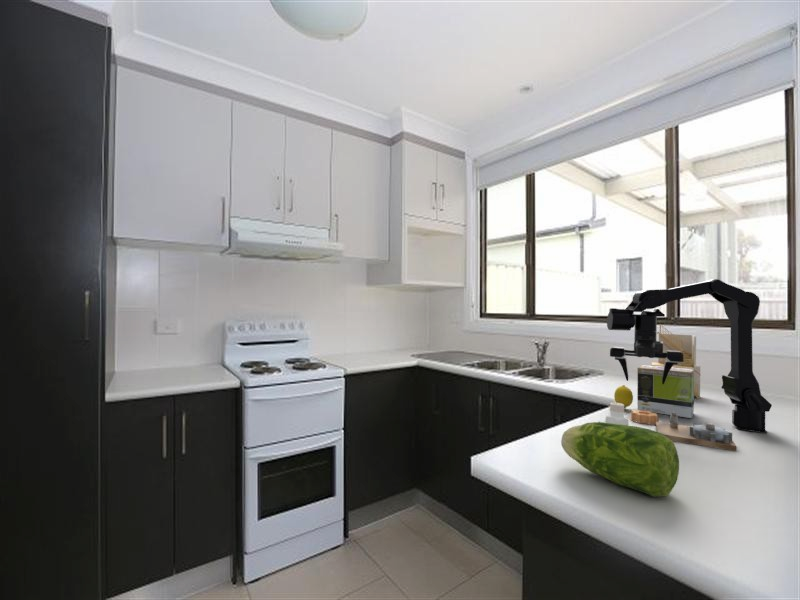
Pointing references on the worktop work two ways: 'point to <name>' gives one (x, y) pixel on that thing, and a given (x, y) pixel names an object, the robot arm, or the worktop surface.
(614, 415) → the pepper shaker
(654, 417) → the gear
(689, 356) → the cream block pieces
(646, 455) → the lettuce
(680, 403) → the tea box
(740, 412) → the robot arm
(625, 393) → the lemon
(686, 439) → the gear board
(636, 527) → the worktop surface
